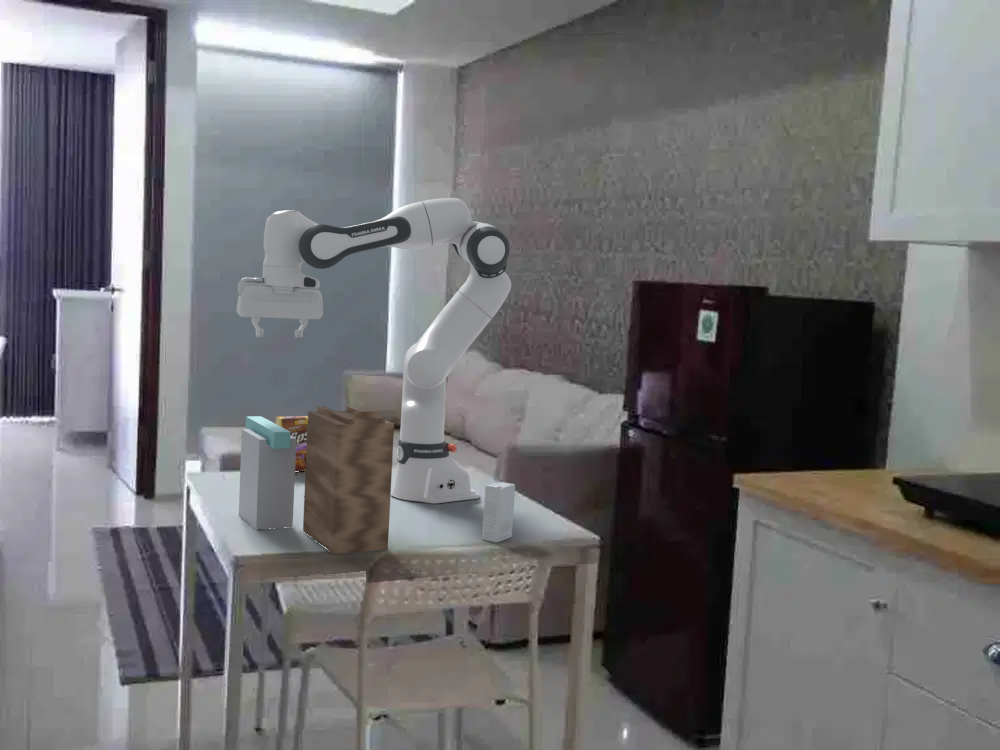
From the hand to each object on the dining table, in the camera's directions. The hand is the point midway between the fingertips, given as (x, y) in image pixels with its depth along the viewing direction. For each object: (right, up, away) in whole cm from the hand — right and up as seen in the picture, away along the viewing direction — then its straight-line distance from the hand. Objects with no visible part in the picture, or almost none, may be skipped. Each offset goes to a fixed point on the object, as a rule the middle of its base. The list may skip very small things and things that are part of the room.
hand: (279, 337), depth 246 cm
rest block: (+1, -41, -18) cm, 45 cm away
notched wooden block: (+20, -44, -30) cm, 57 cm away
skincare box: (+52, -45, -22) cm, 72 cm away
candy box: (-5, -36, +37) cm, 51 cm away
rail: (+1, -23, -19) cm, 30 cm away
